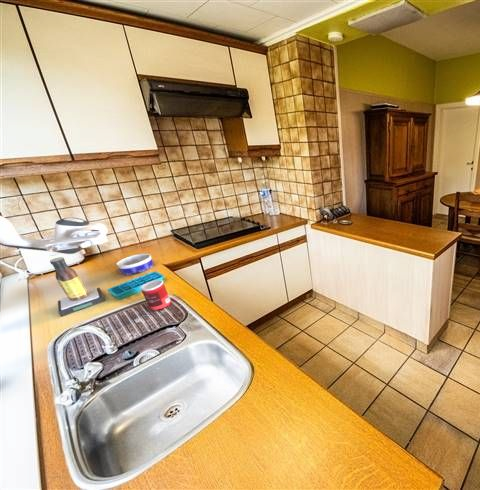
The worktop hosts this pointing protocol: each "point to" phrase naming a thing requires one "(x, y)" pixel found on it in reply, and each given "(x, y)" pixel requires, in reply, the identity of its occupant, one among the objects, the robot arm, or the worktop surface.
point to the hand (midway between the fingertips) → (66, 248)
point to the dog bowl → (135, 264)
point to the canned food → (156, 295)
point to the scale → (80, 302)
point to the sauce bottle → (68, 280)
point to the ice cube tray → (134, 285)
